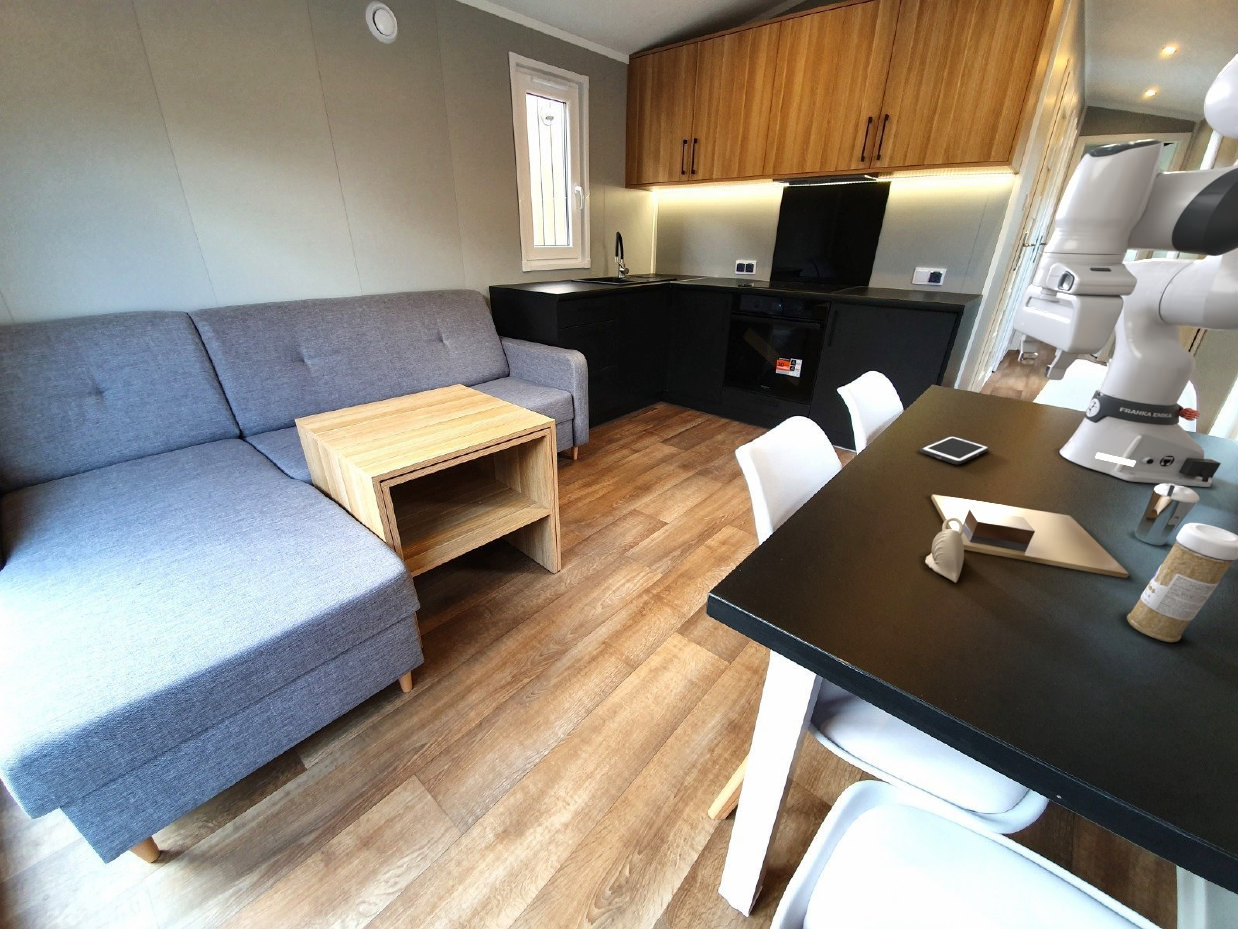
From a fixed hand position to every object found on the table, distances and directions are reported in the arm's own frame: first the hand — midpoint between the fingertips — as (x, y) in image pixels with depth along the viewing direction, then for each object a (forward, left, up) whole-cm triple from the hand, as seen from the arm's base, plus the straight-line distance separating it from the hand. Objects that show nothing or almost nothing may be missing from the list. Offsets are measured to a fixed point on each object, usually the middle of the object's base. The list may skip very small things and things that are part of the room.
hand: (1038, 370), depth 76 cm
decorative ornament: (+12, +24, -23) cm, 36 cm away
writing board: (-1, +11, -23) cm, 25 cm away
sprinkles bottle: (-8, +30, -23) cm, 39 cm away
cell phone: (-1, -22, -23) cm, 31 cm away
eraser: (+4, +16, -22) cm, 28 cm away
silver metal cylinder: (-20, +6, -23) cm, 31 cm away
